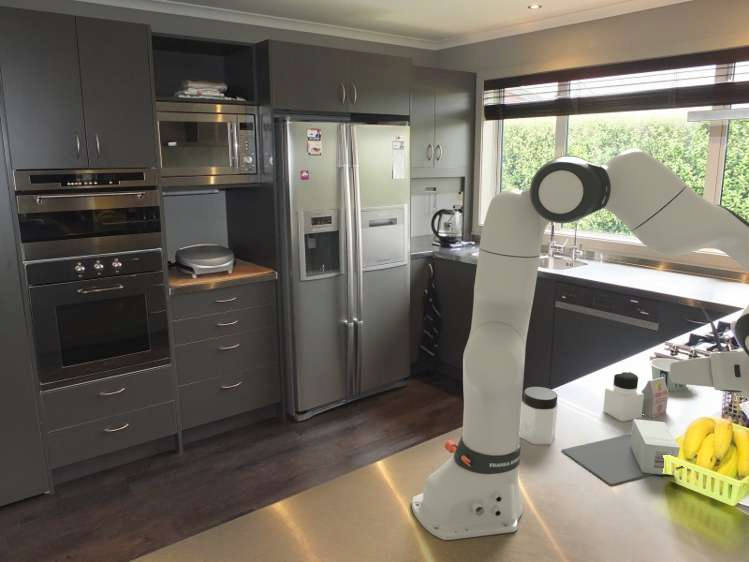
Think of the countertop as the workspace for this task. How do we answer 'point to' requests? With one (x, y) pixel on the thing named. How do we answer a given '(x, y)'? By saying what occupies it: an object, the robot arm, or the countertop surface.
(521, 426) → the jar
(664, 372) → the food container
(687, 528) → the countertop surface
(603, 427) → the countertop surface
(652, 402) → the juice carton
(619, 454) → the mat
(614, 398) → the medicine bottle
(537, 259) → the robot arm
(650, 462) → the supplement box
